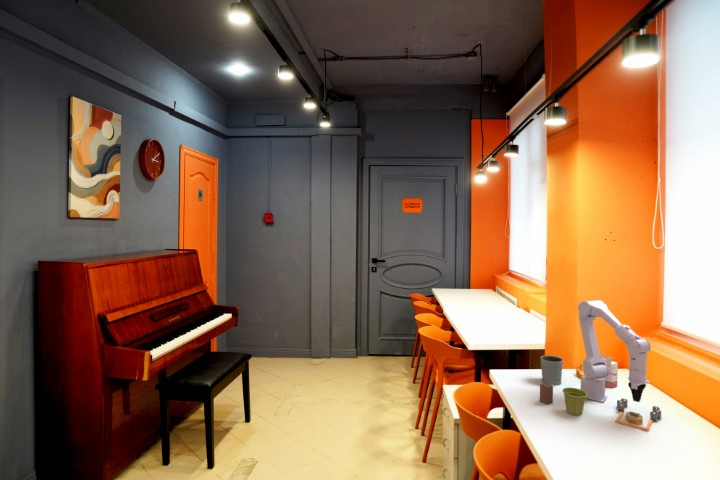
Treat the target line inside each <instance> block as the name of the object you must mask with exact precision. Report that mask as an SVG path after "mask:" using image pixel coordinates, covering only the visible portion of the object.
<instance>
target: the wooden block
mask: <svg viewBox="0 0 720 480" xmlns="http://www.w3.org/2000/svg"><path fill="white" fill-rule="evenodd" d="M539 402H541V403H542V404H544V405H550V404H551V405H552V404H553V403H554V385H550V384H548V383H544V382H542V383H540V384H539Z"/></svg>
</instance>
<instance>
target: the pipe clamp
mask: <svg viewBox="0 0 720 480" xmlns="http://www.w3.org/2000/svg"><path fill="white" fill-rule="evenodd" d="M575 375H576V376H577V377H578V378H579V379H580V380H581V378H582V376H585V375H584V373H583V362H580V363H579V368H576V369H575Z"/></svg>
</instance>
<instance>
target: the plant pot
mask: <svg viewBox="0 0 720 480" xmlns="http://www.w3.org/2000/svg"><path fill="white" fill-rule="evenodd" d="M562 393H563V396H564V402H565V403H564V405H565V411H566V412H567V413H568V414H570V415H574V416H582V415H583V414H584V413H583V412H584V407H585V403H586V402H585V401H586V399H587V398H586V397H587V395H588V394H587V393H586V392H585V391H583V390H581V388H575V387H563V388H562Z"/></svg>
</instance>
